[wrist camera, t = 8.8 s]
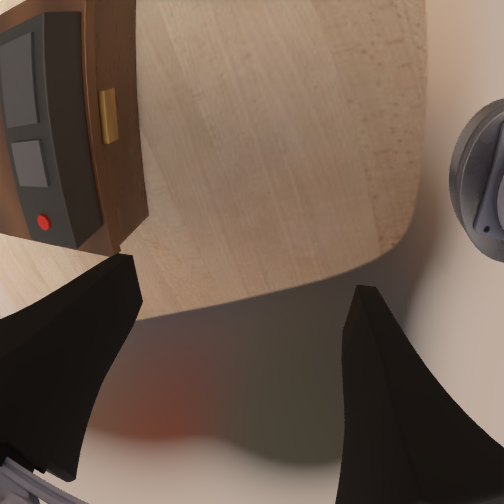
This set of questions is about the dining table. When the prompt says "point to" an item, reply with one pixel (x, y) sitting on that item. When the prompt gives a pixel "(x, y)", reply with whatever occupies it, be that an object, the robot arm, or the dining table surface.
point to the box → (95, 120)
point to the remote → (49, 128)
